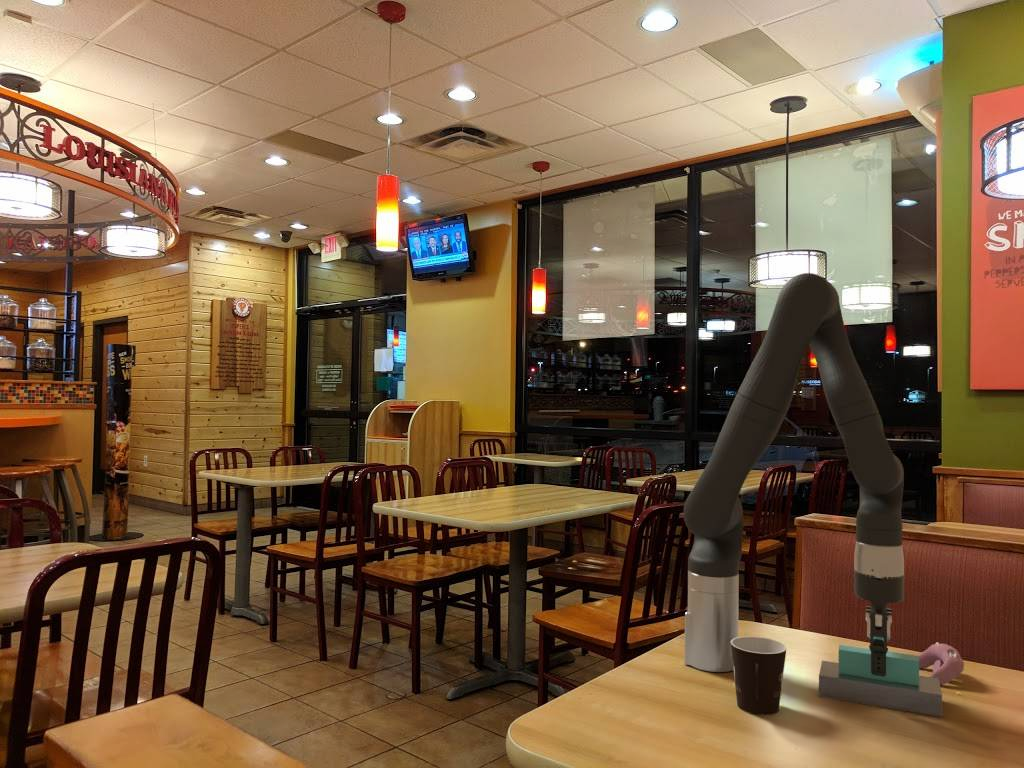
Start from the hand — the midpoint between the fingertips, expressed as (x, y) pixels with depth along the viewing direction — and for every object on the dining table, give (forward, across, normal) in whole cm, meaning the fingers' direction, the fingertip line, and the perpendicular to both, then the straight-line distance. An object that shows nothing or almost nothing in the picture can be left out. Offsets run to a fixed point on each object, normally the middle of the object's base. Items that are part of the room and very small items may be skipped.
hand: (878, 666), depth 125 cm
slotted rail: (+5, 0, 0) cm, 5 cm away
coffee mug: (+5, +15, -18) cm, 24 cm away
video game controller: (+5, -16, +10) cm, 20 cm away
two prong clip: (+5, 0, 0) cm, 5 cm away
